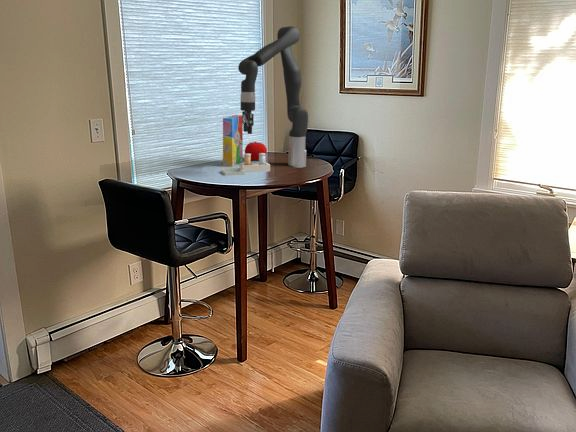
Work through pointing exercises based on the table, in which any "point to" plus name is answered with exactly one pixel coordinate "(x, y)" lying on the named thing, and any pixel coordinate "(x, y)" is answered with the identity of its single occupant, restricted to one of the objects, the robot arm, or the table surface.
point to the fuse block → (255, 167)
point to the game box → (232, 140)
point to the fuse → (261, 158)
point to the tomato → (255, 150)
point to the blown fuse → (247, 159)
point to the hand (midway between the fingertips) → (247, 132)
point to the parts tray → (225, 172)
